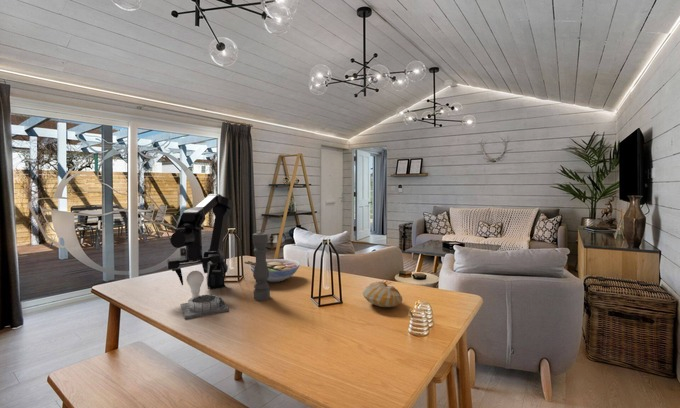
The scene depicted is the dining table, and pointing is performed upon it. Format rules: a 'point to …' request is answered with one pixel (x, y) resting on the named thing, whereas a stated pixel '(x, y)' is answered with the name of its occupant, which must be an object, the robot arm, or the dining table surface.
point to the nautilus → (382, 294)
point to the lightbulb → (195, 282)
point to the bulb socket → (203, 306)
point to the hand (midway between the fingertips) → (195, 283)
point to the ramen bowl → (278, 269)
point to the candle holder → (261, 267)
